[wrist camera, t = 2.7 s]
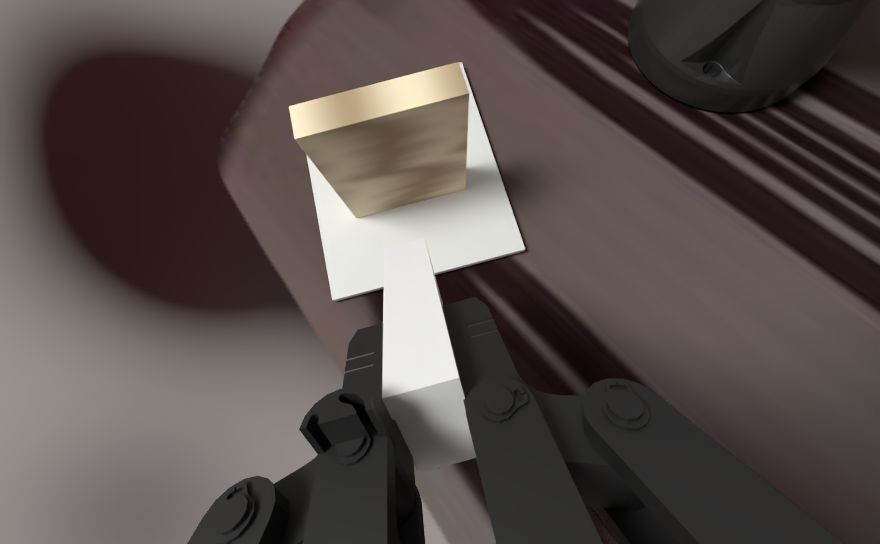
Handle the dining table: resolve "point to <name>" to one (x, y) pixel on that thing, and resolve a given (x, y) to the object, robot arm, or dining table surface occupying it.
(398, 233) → the rubber mat
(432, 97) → the birch slab
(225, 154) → the dining table surface
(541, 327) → the dining table surface
